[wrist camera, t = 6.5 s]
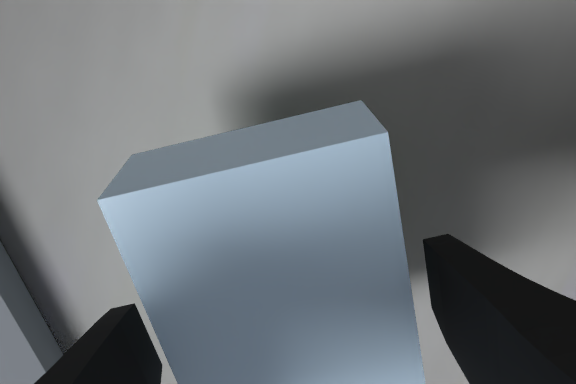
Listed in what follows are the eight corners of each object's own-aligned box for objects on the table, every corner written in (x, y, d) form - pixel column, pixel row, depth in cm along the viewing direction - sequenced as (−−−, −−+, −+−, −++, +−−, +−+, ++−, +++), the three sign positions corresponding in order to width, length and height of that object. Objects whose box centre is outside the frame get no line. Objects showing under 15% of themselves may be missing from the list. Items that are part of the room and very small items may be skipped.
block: (404, 356, 14) (432, 430, 12) (224, 393, 15) (217, 473, 12) (361, 99, 11) (388, 132, 9) (131, 154, 11) (96, 200, 9)
